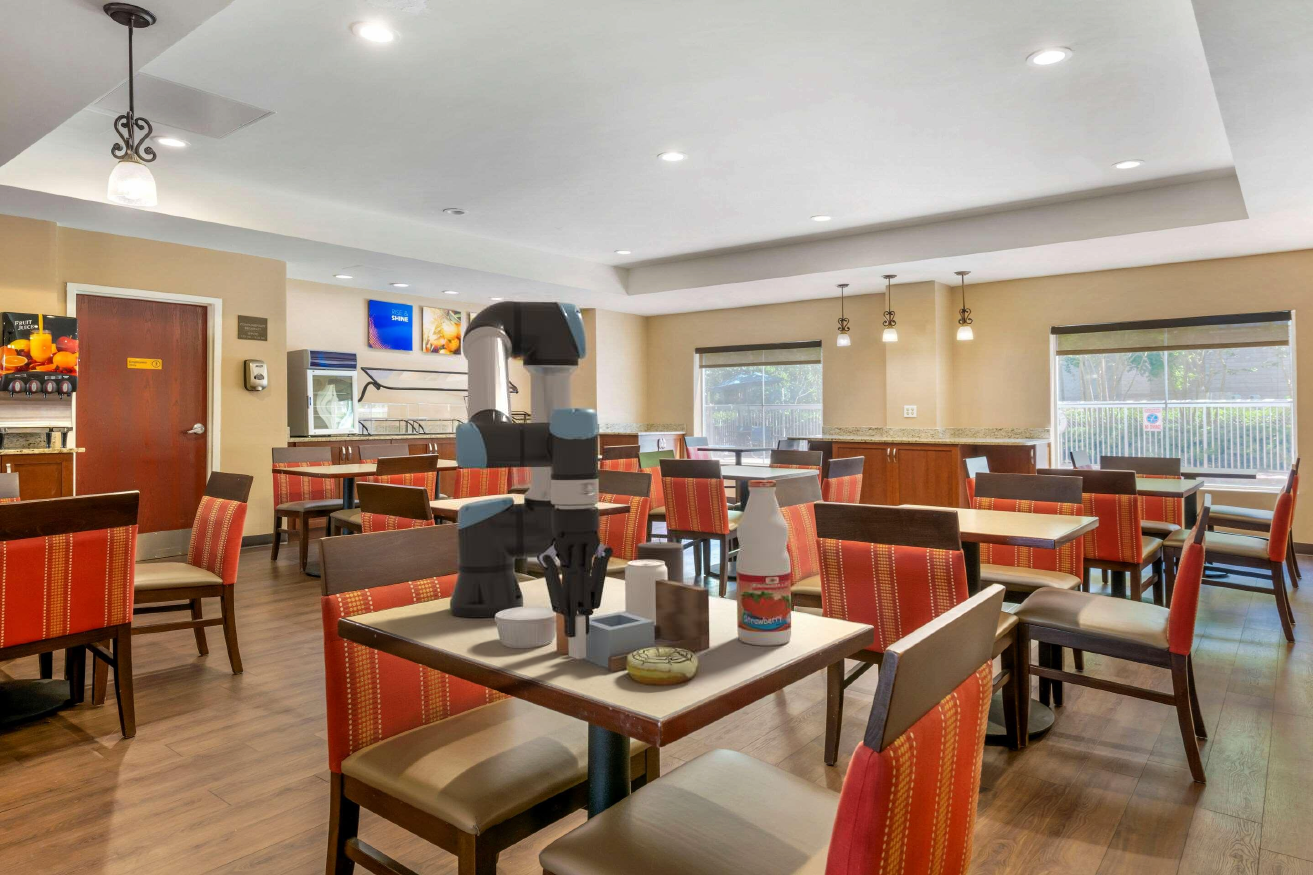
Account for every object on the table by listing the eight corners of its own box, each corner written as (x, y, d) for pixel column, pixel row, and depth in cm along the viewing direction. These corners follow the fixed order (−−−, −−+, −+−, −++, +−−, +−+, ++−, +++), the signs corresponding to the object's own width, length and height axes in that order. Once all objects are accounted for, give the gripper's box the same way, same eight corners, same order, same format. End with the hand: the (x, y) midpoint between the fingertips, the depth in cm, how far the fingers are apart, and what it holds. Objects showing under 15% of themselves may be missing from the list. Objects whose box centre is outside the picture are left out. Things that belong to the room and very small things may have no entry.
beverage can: (617, 627, 143) (617, 564, 143) (638, 618, 150) (637, 558, 150) (655, 632, 139) (654, 567, 139) (675, 622, 147) (674, 560, 147)
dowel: (552, 650, 128) (551, 579, 128) (570, 646, 130) (569, 577, 130) (563, 655, 125) (562, 582, 125) (582, 651, 128) (581, 579, 128)
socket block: (577, 656, 124) (577, 619, 124) (622, 646, 130) (621, 611, 130) (609, 668, 117) (608, 630, 117) (654, 657, 123) (654, 620, 123)
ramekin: (491, 637, 138) (490, 608, 138) (551, 631, 142) (551, 603, 142) (500, 653, 127) (499, 622, 127) (565, 646, 131) (565, 616, 131)
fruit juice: (783, 631, 138) (781, 478, 139) (797, 645, 129) (795, 481, 129) (732, 633, 138) (730, 479, 138) (743, 647, 128) (741, 482, 128)
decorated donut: (706, 685, 110) (706, 659, 110) (633, 691, 107) (633, 665, 107) (688, 664, 120) (688, 640, 120) (621, 669, 118) (621, 645, 118)
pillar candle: (647, 617, 151) (647, 542, 151) (630, 607, 160) (630, 536, 160) (691, 613, 155) (691, 539, 155) (672, 603, 164) (672, 534, 164)
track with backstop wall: (569, 654, 125) (569, 594, 125) (663, 634, 138) (663, 579, 138) (612, 671, 116) (612, 606, 116) (709, 647, 128) (708, 588, 128)
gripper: (551, 510, 112) (553, 670, 112) (622, 504, 120) (624, 653, 120) (526, 507, 118) (528, 659, 118) (596, 502, 126) (598, 644, 126)
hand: (577, 656), depth 119 cm, fingers closed
